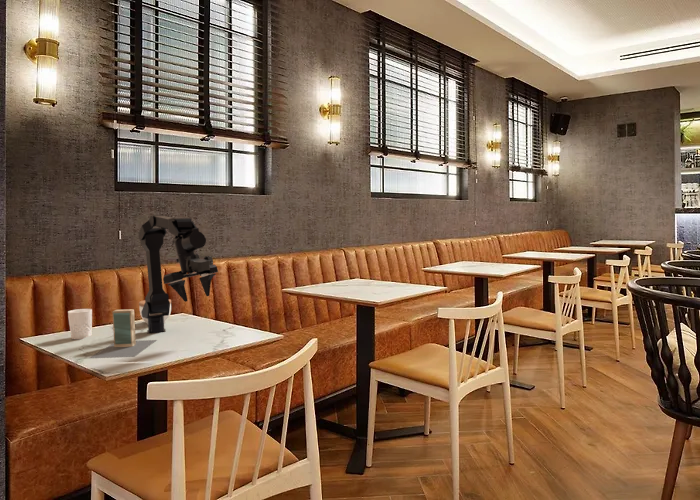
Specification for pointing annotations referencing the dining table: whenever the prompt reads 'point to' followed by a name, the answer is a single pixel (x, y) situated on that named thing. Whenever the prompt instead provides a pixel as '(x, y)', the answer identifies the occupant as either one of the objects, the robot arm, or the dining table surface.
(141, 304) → the lidded bowl
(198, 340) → the dining table surface
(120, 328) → the birch block
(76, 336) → the white cup
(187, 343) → the dining table surface
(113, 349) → the rubber mat
